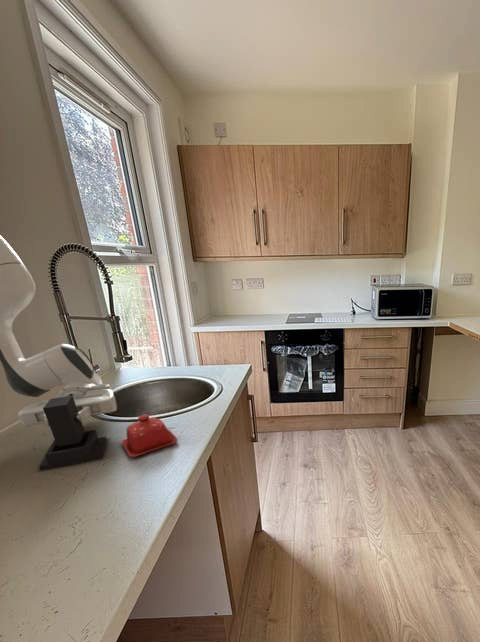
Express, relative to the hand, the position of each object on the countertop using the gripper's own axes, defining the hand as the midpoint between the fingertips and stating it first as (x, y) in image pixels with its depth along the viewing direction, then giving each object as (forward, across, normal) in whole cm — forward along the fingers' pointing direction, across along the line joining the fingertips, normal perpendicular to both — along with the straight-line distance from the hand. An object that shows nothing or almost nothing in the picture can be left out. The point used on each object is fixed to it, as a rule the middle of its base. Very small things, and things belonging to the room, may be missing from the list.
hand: (63, 420), depth 82 cm
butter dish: (+2, +17, +10) cm, 20 cm away
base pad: (-1, 0, +10) cm, 10 cm away
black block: (-1, 0, +6) cm, 6 cm away
